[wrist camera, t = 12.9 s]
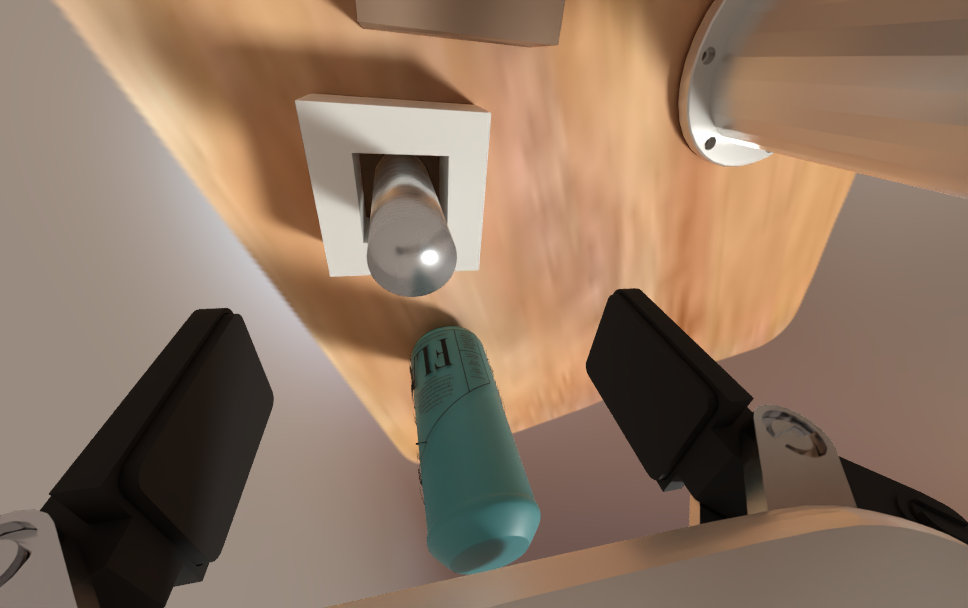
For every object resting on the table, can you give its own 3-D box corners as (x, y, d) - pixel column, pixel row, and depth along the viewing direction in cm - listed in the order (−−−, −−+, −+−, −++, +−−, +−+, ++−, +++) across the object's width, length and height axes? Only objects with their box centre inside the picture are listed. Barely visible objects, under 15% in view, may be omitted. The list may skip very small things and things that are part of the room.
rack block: (474, 104, 20) (491, 112, 17) (467, 243, 25) (478, 270, 22) (310, 93, 18) (294, 100, 15) (337, 247, 23) (330, 276, 20)
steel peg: (428, 152, 21) (458, 216, 13) (429, 206, 23) (455, 294, 15) (371, 150, 21) (361, 217, 12) (377, 206, 22) (371, 299, 14)
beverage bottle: (441, 299, 28) (516, 618, 12) (495, 335, 31) (608, 617, 16) (391, 350, 30) (398, 685, 14) (448, 378, 33) (505, 670, 17)
